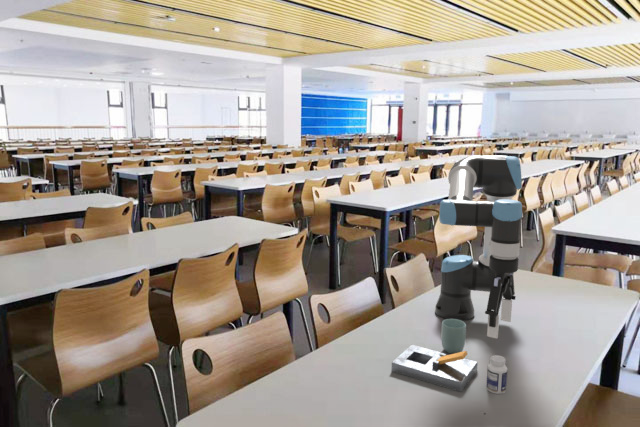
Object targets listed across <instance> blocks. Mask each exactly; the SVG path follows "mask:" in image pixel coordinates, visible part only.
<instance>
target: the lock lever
mask: <svg viewBox="0 0 640 427" xmlns="http://www.w3.org/2000/svg"><path fill="white" fill-rule="evenodd" d="M467 355H468V351H467V350H462V351H461V352H459V353H455V354H451V353H449V355H446V356H439V357H438V358H437V359H436V360H435V361H439V364H443V363H448V362H452V361H457V360H461V359H464V358H465V359H466V357H467Z"/></svg>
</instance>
